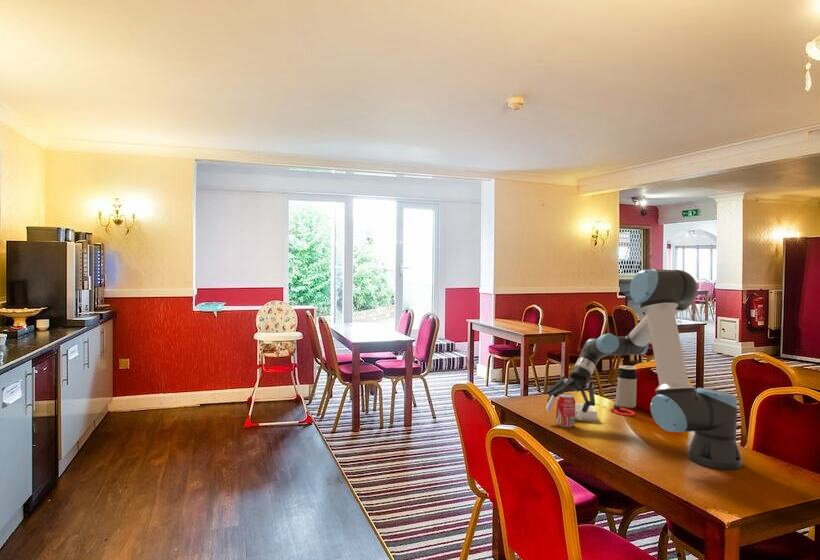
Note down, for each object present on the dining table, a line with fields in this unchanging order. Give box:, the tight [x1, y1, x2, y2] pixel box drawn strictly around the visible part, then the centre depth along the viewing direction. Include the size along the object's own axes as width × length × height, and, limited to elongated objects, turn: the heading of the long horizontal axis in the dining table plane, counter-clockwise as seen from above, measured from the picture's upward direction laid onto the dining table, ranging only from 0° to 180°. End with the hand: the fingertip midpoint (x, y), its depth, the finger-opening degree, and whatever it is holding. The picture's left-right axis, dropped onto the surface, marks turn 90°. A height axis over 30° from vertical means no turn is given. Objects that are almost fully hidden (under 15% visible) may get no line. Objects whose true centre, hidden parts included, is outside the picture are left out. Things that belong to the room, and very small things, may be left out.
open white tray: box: [575, 402, 598, 422], centre depth 213 cm, size 12×12×4 cm
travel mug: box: [617, 365, 638, 409], centre depth 231 cm, size 8×8×18 cm
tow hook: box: [609, 381, 636, 417], centre depth 219 cm, size 8×13×9 cm
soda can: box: [555, 393, 576, 428], centre depth 200 cm, size 7×7×12 cm
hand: (562, 414), depth 198 cm, fingers open, 13 cm apart
